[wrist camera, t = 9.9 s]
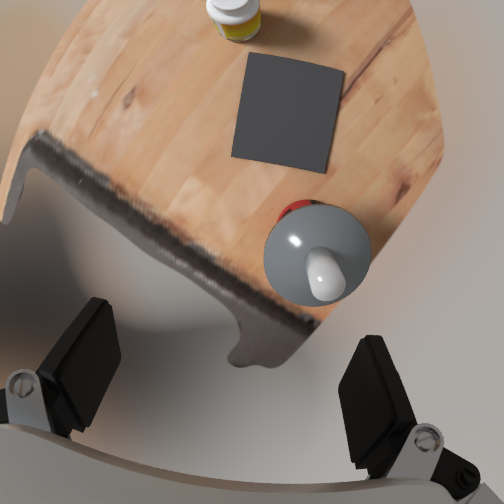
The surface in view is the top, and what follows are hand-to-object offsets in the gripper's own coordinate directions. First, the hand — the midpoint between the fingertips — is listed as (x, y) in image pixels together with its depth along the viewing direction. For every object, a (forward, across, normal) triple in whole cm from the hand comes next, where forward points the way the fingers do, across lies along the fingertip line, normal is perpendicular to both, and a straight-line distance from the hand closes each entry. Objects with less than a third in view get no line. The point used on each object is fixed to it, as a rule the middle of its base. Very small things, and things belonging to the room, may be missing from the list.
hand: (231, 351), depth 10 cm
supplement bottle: (+31, +5, -21) cm, 38 cm away
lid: (+19, -7, +5) cm, 21 cm away
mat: (+31, -3, -9) cm, 32 cm away
